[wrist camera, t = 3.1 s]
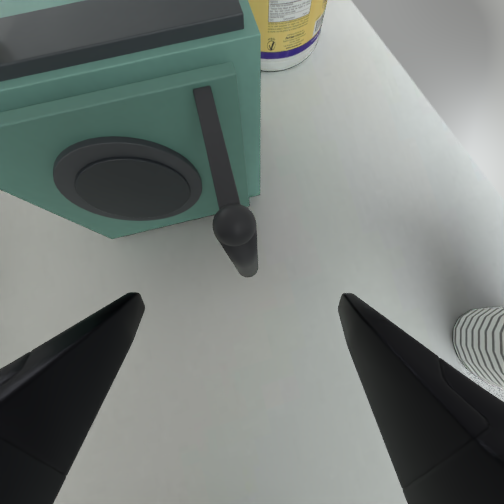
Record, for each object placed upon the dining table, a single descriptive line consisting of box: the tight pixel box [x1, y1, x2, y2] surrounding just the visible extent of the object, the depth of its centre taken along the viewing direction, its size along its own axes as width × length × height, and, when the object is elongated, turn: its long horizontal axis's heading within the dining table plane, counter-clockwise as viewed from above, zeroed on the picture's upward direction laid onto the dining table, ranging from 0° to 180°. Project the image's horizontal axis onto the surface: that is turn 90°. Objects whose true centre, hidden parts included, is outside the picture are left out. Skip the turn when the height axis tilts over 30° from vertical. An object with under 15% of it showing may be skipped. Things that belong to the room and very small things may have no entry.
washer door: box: [0, 62, 258, 277], centre depth 13 cm, size 8×14×12 cm, turn 104°
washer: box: [0, 0, 261, 197], centre depth 15 cm, size 12×16×14 cm
